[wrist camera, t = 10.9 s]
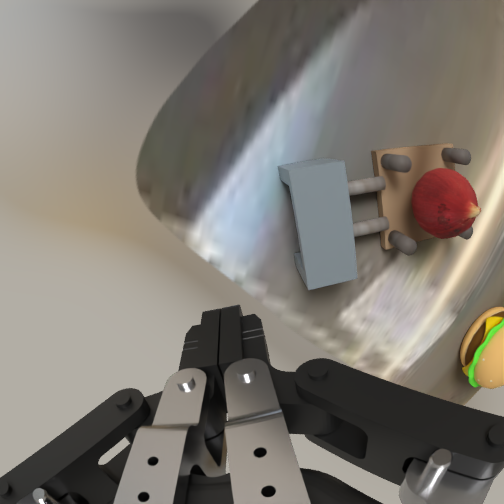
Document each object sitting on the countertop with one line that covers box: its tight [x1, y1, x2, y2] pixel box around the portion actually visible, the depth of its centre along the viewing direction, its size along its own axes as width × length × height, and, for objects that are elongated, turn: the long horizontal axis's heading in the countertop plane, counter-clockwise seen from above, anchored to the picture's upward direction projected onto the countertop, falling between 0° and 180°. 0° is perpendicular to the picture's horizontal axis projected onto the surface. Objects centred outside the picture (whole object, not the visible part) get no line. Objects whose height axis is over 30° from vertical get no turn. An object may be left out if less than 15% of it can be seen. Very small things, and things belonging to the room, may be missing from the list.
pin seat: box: [347, 143, 473, 255], centre depth 24 cm, size 13×9×4 cm
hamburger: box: [460, 307, 504, 389], centre depth 29 cm, size 12×12×9 cm
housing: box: [278, 158, 357, 290], centre depth 24 cm, size 4×9×5 cm, turn 12°
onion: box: [411, 168, 481, 239], centre depth 21 cm, size 6×6×8 cm
